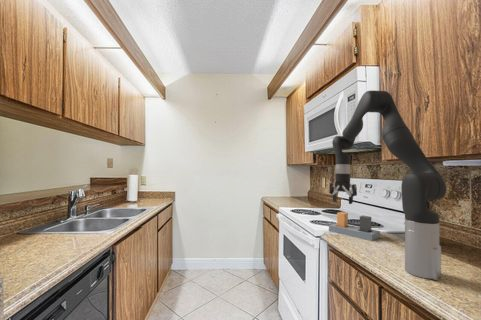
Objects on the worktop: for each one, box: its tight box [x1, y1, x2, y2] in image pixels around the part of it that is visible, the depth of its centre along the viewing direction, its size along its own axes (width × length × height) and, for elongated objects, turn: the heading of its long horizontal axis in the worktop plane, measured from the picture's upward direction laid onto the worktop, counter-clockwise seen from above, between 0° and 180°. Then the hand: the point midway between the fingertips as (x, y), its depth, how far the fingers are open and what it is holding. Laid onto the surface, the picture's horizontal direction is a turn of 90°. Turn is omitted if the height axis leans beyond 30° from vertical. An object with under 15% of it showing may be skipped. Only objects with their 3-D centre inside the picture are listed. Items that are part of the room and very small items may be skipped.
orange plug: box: [336, 211, 349, 228], centre depth 132 cm, size 4×4×10 cm
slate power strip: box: [328, 215, 381, 242], centre depth 127 cm, size 22×10×10 cm, turn 40°
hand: (342, 202), depth 132 cm, fingers open, 8 cm apart
